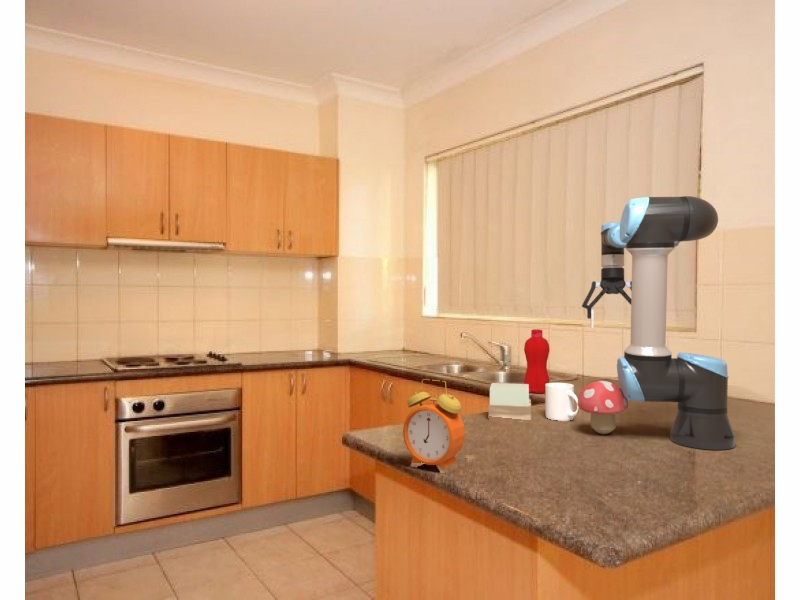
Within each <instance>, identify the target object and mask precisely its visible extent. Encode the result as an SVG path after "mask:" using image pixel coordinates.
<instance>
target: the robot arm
mask: <svg viewBox="0 0 800 600" xmlns="http://www.w3.org/2000/svg"><path fill="white" fill-rule="evenodd" d="M718 222H719V216H718V211H717V210H716V208H715V207H714V205H712V204H711V203H710V202H709V201H707V200H705V199H703V198H701V197H696V196H693V195H692V196H688V195H685V196H644V197H635V198H632V199H630V200H628V201H627V202H626V204H625V206H624V208H623V211H622V213H621V218H620V222H619V221H617V222H616V221H615V222H611V221H610V222H604V223H602V224H601V229H600V230H601V231H600V237H601V238H600V242H601V244H600V245H601V246H600V247H601V251H600V252H601V254H600V255H601V258H600V261H601V262H600V263H601V264H600V265H601V267H602V268H601V269H600V278H601V279H600V282H599V281H594V280H593V281H592V282H591V287H590V289H589V291H588V293H587V295H586V297H585V299H584V301H583V302H582V305H581V307H582V308H584V309H586V312H587V315H586V317H587V319H590V329H594V323H595V322H594V319H595V318H594V317H595V316H594V315H595V313H594V312H595V310H594V309H593V308H594V306H595V305H596V304H597V303H598V302H599V301H600V299H601V298H602V297H604V295H605V294H606V295H619V294H620V295H621V296H622V297H623V298H624V299H625V300H626V301H627V303H628V304H630V307H631V308H630V309H631V310H630V343H629V345H628V346H627V347H625V349H624V352H623V356H621V357H618V358H617V360H616V363H617V364H616V371H617V378H618V384H619V388H620V389H621V391H622V393H623V395H624V397H625V398H626V399H627V401H632V402H633V401H634V402H635V401H636V402H641V403H645V402H653V403H654V402H655V403H660V402H661V403H665V402H666V403H677V411H676V415H675V417H674V420H673V423H672V425H671V428H670V435H669V436H670V437H669V438H670V440H671V442H673V443H675V444H677V445H681V446H683V447H684V446H685V447H688V448H693V449H701V450H711V451H713V450H714V451H715V450H716V451H719V450H720V451H721V450H722V451H723V450H730V449H733V448H735V447H736V437H735V433H734V431H733V428H732V425H731V422H730V420H729V419H730V418H729V417H728V393H729V392H728V384H729V383H728V382H729V375H728V365H727V362H726V361H725V360H724V359H722V358H719V357H714V356H709V355H704V354H697V353H691V352H689V353H688V352H678V354H677V355H676V358H675V357H673V358H672V356H673V355H672V351H671V350H670V349H669V348H668V347H667V346H666V338H667V336H666V333H667V304H668V303H667V298H668V297H667V296H668V295H667V294H668V259H669V255H670V254H671V253H672V252H673V251H674V250H675V247H676V248H677V246H679V244H680V243H681V242H691V241H693V242H694V241H698V240H701V239H702V240H703V239H705V238H708V237H709V236H710V235H712V233H714V232H715V230H716V228H717V226H718ZM625 249H626V251H627V252H628V253H629V254H630V255H631V257H632V258H631V281H625V269H624V268H623V267H625ZM626 286H627V288H629V290H630V292H631V297H630V295H628V294H627V292H626V290H624V288H625V287H626ZM598 287H600V288H601V289H602V290H600V292H599V293H598V294H597V295H596V296H595V298H594V299H593V300H592V301H591V302H590V304H589V301H590V299H591V298H592V296H593V294H594V292H595V290H596V289H597V288H598ZM588 304H589V305H588Z"/></svg>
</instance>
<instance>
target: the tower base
mask: <svg viewBox="0 0 800 600" xmlns="http://www.w3.org/2000/svg"><path fill="white" fill-rule="evenodd" d="M487 406H488V410H487V411H488V417H489V416H492V417H502V418H512V419H521V420H531V421H532V401H531V398H529V406H508V405H490V401H489V403H488V405H487Z"/></svg>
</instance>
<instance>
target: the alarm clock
mask: <svg viewBox="0 0 800 600" xmlns="http://www.w3.org/2000/svg"><path fill="white" fill-rule="evenodd" d="M424 380H427V381H429V379H427V378H426V379H424V378H423V379H421V384H423V381H424ZM433 381H437V382H439V379H437V380H435V379H433ZM443 382H444V386H445V389H447V382H446V381H445V380H443ZM420 386H421V390H419V391H418V392H417V391H414V392H413V393H414V394H413V395H412V396H410V397H409V398H408V400H407V406H408V407H407V408H411V407H414V406H417V405H420V406H417V407H415V408H413V409H412V410H411V411H410V412H409V413H408V414H407V416H406V419H405V421H404V422H403V428H402V434H403V441H404V444H405V447H406V449H407V451H408V452H409V453H410V454H411V457H412V458H411V461H410V463H411V462H413V463H421V462H422V463H425V465H426V466H427V465H429V466H432V465H433V466H436V467H437V466H439V467H444V468H446V467H448V466H450V465H452V464H454V463H456V462H457V460H456V459H457V458H456V456H457V454H458V453H459V452H461V450H462V448H463V446H464V444H465V438H466V429H465V424H464V422H463V419H462V417H461V415H460V414H459V413H460V412H461V409H462V405H461V402H460V401H459V399H457V398H456V397H455V395H452V394H448V393H447V391H445V393H444V394H443V393H442V394H441V395H439V396H438V397H437V398H435V397H432V396H431V395H430V393H429V392H426V391H423V385H420ZM428 399H429V401H431V402H429V403H426V404H423V402H424V401H427V400H428ZM457 463H458V462H457Z"/></svg>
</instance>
